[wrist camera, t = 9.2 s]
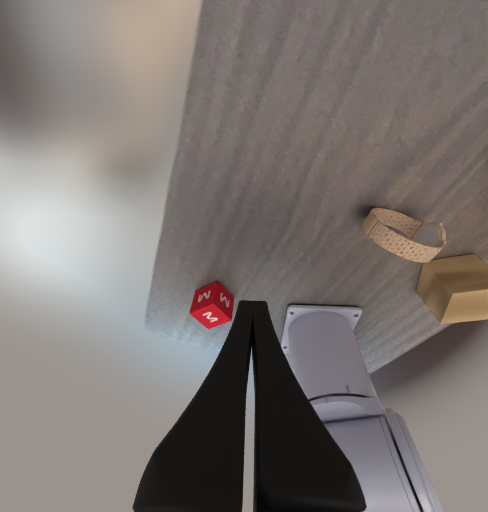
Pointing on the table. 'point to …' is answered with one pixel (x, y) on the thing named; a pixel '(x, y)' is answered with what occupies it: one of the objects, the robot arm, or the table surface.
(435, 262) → the birch block
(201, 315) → the red letter cube
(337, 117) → the table surface
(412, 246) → the tan wristwatch
